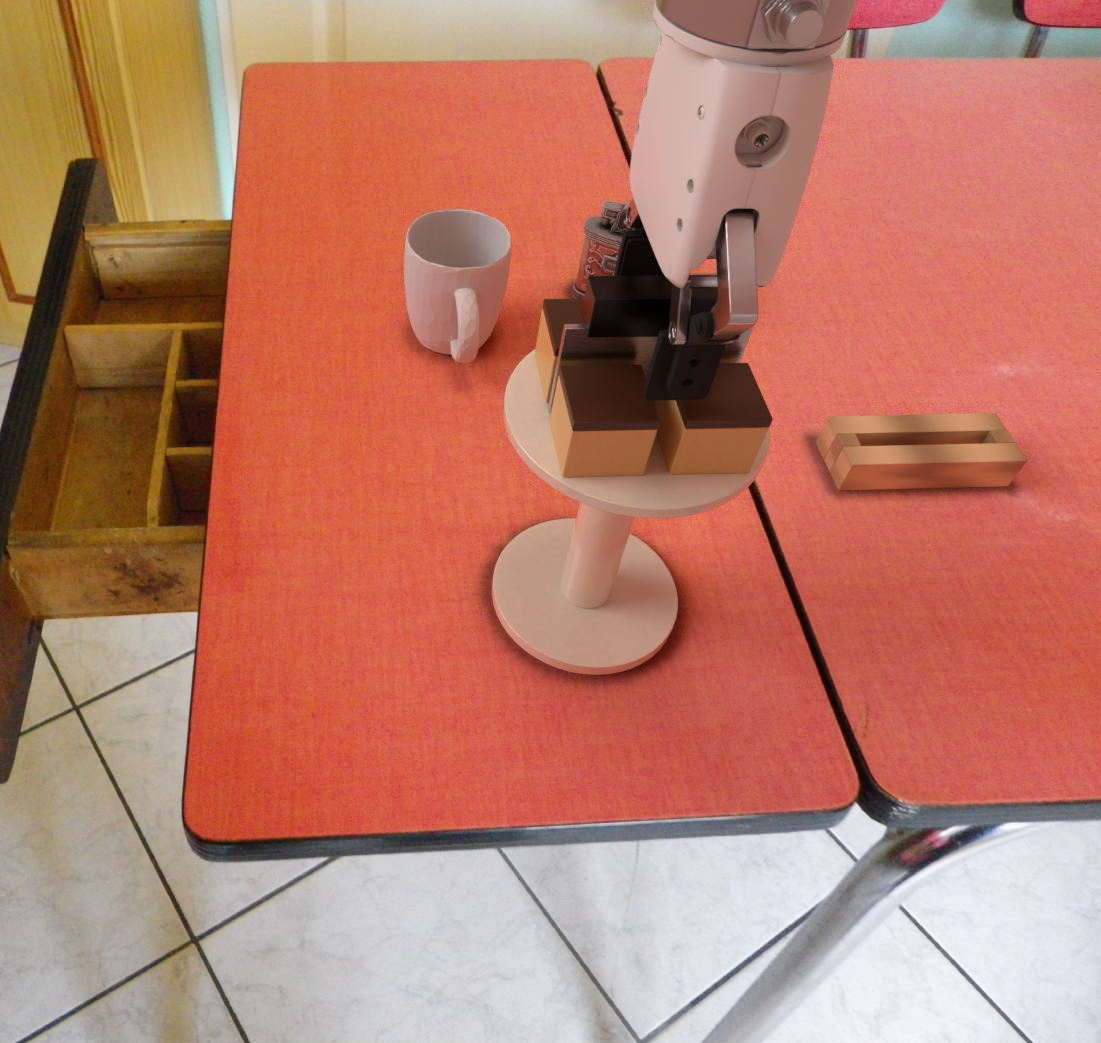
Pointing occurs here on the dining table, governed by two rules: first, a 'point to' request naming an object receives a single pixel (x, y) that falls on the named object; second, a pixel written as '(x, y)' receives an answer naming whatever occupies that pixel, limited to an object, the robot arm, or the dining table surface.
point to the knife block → (919, 451)
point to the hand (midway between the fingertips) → (655, 341)
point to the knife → (629, 323)
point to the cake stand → (594, 549)
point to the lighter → (601, 244)
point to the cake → (644, 413)
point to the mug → (456, 279)
